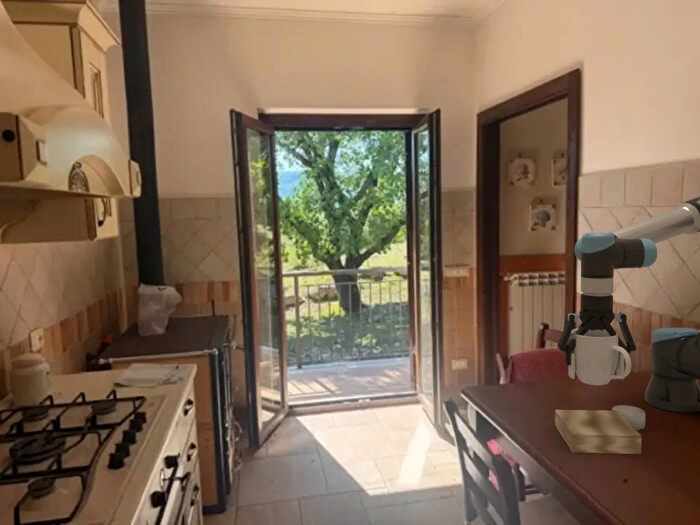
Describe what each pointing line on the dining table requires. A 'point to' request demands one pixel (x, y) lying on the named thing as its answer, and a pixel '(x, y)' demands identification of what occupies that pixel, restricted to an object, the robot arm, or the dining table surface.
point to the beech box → (597, 432)
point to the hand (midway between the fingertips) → (595, 377)
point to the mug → (598, 357)
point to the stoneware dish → (632, 415)
